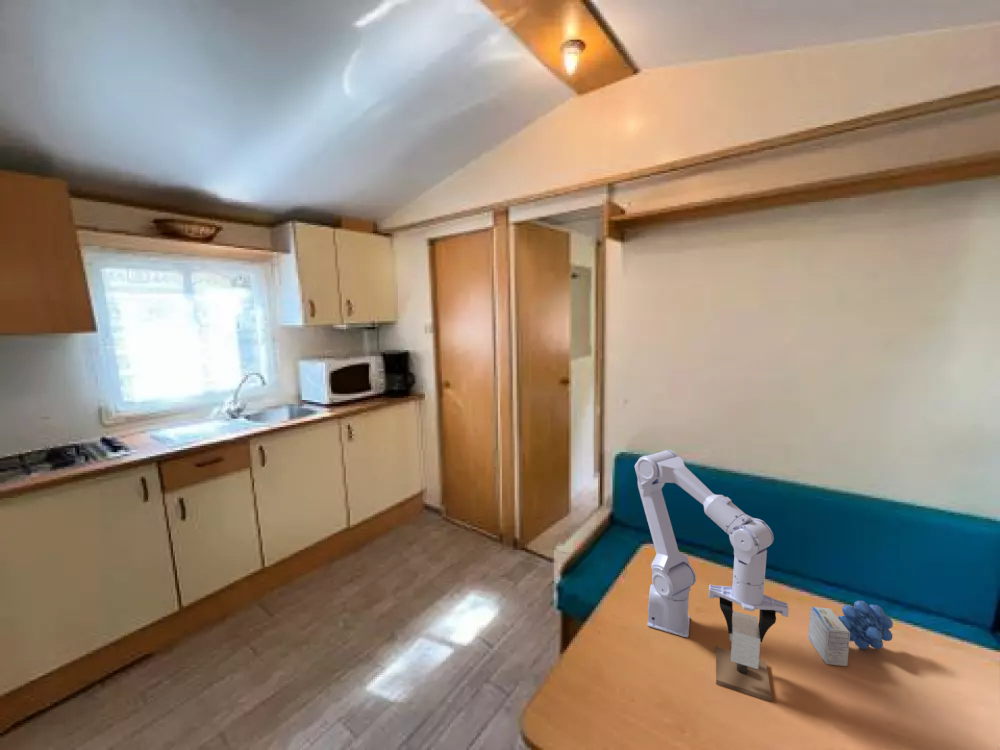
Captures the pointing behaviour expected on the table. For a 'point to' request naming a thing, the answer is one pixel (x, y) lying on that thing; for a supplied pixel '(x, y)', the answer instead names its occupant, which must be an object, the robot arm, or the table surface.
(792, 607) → the table surface
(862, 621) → the grapes
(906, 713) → the table surface
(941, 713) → the table surface
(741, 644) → the brushed steel brick
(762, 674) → the thin tan panel
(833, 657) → the medicine box
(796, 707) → the table surface
